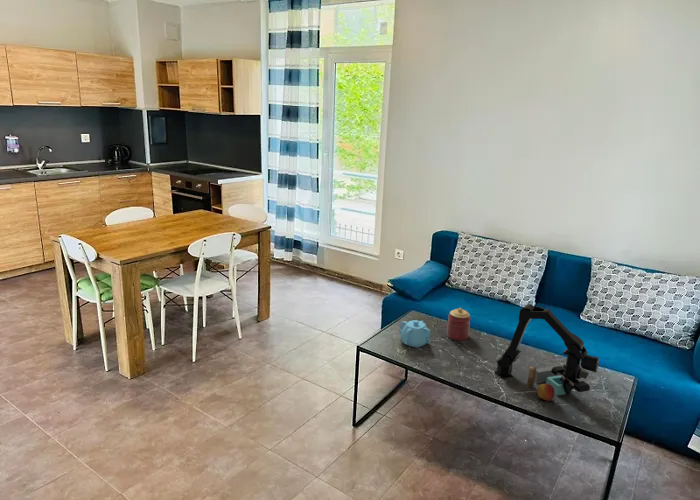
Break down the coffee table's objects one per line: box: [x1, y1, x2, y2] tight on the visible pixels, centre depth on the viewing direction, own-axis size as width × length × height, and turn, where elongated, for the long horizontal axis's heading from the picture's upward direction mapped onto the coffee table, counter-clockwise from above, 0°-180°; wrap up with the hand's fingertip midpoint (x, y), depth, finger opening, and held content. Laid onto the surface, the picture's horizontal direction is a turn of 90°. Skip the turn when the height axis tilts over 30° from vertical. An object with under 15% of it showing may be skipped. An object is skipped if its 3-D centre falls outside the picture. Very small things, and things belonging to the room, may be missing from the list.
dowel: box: [526, 365, 537, 389], centre depth 238 cm, size 3×3×10 cm
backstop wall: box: [534, 364, 564, 384], centre depth 245 cm, size 18×3×6 cm, turn 109°
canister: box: [446, 307, 472, 341], centre depth 287 cm, size 13×13×18 cm
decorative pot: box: [399, 319, 432, 349], centre depth 277 cm, size 16×16×14 cm
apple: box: [536, 383, 555, 402], centre depth 227 cm, size 8×8×8 cm
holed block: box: [545, 375, 572, 396], centre depth 236 cm, size 8×8×5 cm
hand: (567, 394), depth 231 cm, fingers closed
